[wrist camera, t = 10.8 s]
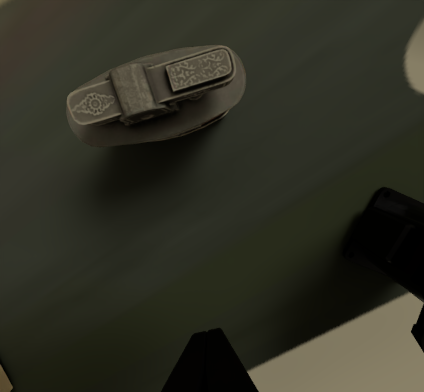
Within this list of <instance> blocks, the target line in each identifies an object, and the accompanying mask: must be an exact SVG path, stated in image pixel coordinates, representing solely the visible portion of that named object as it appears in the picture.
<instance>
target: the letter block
mask: <svg viewBox="0 0 424 392" xmlns="http://www.w3.org/2000/svg"><path fill="white" fill-rule="evenodd" d="M12 388H13V387H12V385H11V383H10V381H9V379H8V377H7V376H6V374H5V372H4V370H3V368H2V366H1V365H0V392H10V391H11V390H12Z"/></svg>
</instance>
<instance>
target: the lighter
mask: <svg viewBox="0 0 424 392" xmlns="http://www.w3.org/2000/svg"><path fill="white" fill-rule="evenodd" d="M245 85H246V74H245V69H244V66H243V64H242V61H241V59H240V58H239V57H238V56H237V54H236V53H235V52H234V51H232V50H231V49H229V48H228V47H226V46H221V45H210V46H199V47H188V48H179V49H175V50H170V51H166V52H161V53H157V54H153V55H148V56H144V57H141V58H139V59H136V60H134V61H131V62H129V63H126V64H124V65H121V66H119V67H116V68H114V69H111V70H109V71H107V72H105V73H103V74H101V75H100V76H98V77H96V78H94V79H93V80H91V81H89V82H87V83H86V84H84V85H82V86H80V87H79V88H77V89H76V90H75V91H74V92H72V93H70V95H69V96H68V98H67V118H68V122H69V125H70V127H71V128H72V130H73V132H74V134H75V135H76V136H77V137H78V138H79V139H80V140H81V141H82V142H84V143H86V144H88V145H90V146H94V147H107V146H117V145H128V144H138V143H143V142H153V141H162V140H167V139H171V138H176V137H180V136H184V135H186V134H189V133H192V132H194V131H197V130H199V129H202V128H204V127H206V126H208V125H210V124H212V123H214V122H215V121H217V120H219V119H221V118H222V117H224V116H225V115H226V114H227V112H228V110H230V109H231V108H232V107H234V106H235V105H236V104H237V103H238V102H239V101H240V99H241V97H242V95H243V94H244V91H245Z"/></svg>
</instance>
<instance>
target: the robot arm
mask: <svg viewBox="0 0 424 392" xmlns="http://www.w3.org/2000/svg"><path fill="white" fill-rule="evenodd" d="M385 192H387V194H386V195H385V196H384V193H385ZM350 252H352V253H351V255H349V256H348V254H349V253H350ZM343 256H344V257H345V258H346V259H347V260H349V261H352V262H354V263H357V264H359V265H362V266H364V267H367V268H369V269H372V270H374V271H377V272H379V273H382V274H384V275H387V276H389V277H391V278H392V279H393V280H395V281H396V282H397V283H399V284H400V285H401V286H403V287H404V288H405V289H406V290H408V291H409V292H410V293H412V294H413V295H414V296H416V297H417V298H418V299H420V300H421V301H422V302H424V203H421V202H419V201H417V200H415V199H413V198H410V197H408V196H406V195H404V194H401V193H399V192H397V191H395V190H392V189H390V188H386V187H382V188H380V189H379V190H378V192H377V194H376V195H375V197H374V199H373V201H372V202H371V204H370V206H369V207H368V209H367V210H366V212H365V214H364V216H363V217H362V219H361V221H360V222H359V224H358V226H357V228H356V229H355V231H354V233H353V235H352V237H351V238H350V240H349V242H348V244H347V245H346V247H345V249H344V251H343ZM411 333H412V334H413V336H414V338H415V339H416V341H417V342H418V344H419V346H420V347H421V349H422V351H423V352H424V304H423V308H422V310H421V312H420V315H419V318H418V320H417V323H416V324H414V325H413V328H412V330H411ZM161 392H259V391H258V390H257V388H256V387H255V385H254V384H253V381H252V380H251V378H250V376H249V375H248V373H247V371H246V370H245V368H244V366H243V364H242V363H241V361H240V359H239V358H238V356H237V354H236V353H235V351H234V349H233V348H232V346H231V344H230V343H229V341H228V339H227V337H226V336H225V334H224V332H223V331H222V329H221V328H216V329H211V330H208V332H206V331H203V332H198V333H195V334H193V335H192V336H191V338H190V340H189V342H188V344H187V345H186V347H185V349H184V351H183V353H182V354H181V356H180V358H179V360H178V362H177V363H176V365H175V367H174V369H173V371H172V372H171V374H170V376H169V378H168V380H167V381H166V383H165V385H164V387H163V389H162V390H161Z"/></svg>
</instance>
